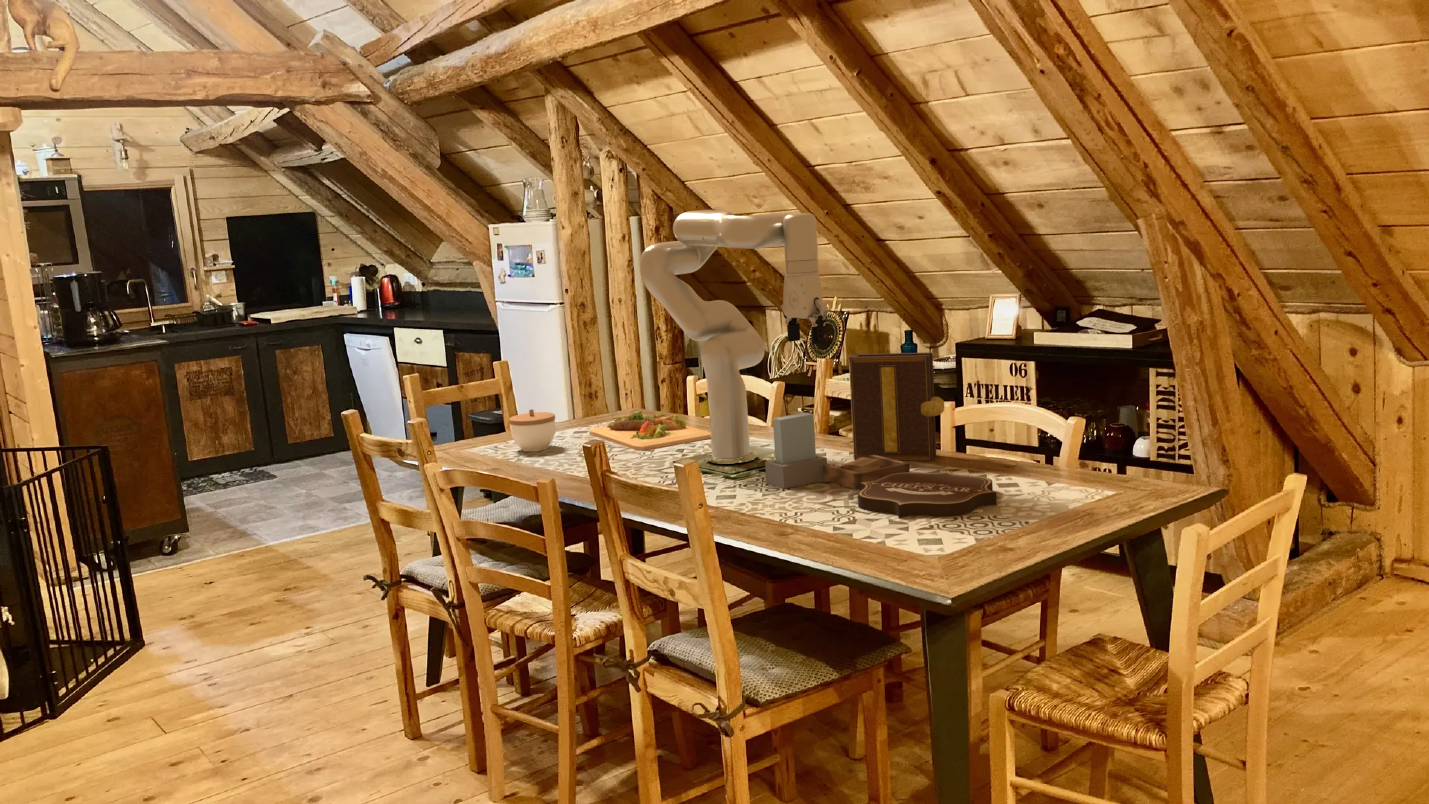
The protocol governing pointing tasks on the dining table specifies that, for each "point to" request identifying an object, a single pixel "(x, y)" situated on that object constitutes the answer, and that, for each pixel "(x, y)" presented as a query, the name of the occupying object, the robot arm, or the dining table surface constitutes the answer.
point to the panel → (794, 438)
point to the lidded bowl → (533, 430)
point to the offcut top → (862, 465)
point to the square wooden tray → (853, 478)
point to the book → (894, 406)
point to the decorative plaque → (926, 494)
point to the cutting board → (649, 431)
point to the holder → (795, 472)
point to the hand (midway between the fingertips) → (806, 342)
